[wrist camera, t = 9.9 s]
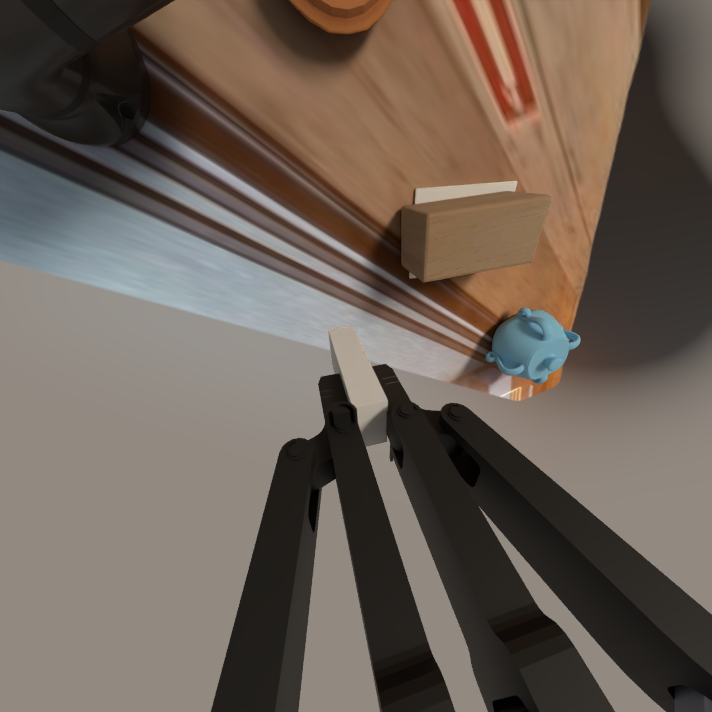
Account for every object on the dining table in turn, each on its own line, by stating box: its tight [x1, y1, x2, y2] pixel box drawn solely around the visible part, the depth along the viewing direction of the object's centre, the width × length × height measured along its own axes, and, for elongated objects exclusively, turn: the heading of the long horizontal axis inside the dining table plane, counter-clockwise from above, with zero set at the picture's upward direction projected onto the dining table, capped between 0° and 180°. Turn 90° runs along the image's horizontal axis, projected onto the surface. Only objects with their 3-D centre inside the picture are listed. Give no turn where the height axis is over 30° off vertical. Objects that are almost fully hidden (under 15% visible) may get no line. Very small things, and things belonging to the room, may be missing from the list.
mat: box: [409, 181, 518, 279], centre depth 50 cm, size 15×19×1 cm
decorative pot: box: [486, 308, 580, 384], centre depth 63 cm, size 16×16×14 cm
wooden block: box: [401, 191, 551, 282], centre depth 45 cm, size 10×10×20 cm
